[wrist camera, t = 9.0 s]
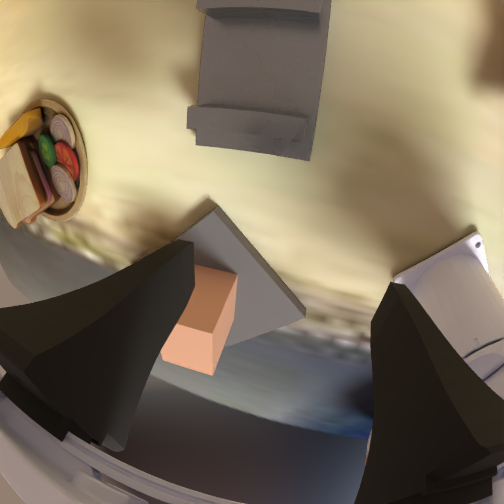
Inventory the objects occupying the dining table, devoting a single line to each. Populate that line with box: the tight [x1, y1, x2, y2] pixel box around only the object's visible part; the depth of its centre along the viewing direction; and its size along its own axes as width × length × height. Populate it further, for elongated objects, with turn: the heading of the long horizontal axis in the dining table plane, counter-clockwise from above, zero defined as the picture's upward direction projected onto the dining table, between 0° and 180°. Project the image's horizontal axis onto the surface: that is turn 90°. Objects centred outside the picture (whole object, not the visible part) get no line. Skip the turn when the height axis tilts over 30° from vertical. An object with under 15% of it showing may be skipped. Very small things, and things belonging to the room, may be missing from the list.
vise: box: [187, 0, 331, 161], centre depth 12 cm, size 12×7×4 cm, turn 175°
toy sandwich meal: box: [0, 99, 88, 228], centre depth 19 cm, size 12×14×5 cm
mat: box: [169, 206, 306, 348], centre depth 23 cm, size 11×11×1 cm
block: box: [161, 264, 238, 375], centre depth 20 cm, size 5×4×6 cm
